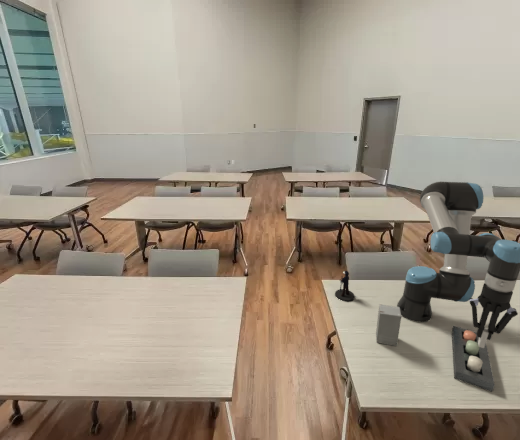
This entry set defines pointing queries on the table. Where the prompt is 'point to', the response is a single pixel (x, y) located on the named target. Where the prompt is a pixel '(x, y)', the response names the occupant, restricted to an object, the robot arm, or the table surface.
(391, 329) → the skincare box
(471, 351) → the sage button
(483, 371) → the panel
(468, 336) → the coral button
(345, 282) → the figurine
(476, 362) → the white glossy ball
